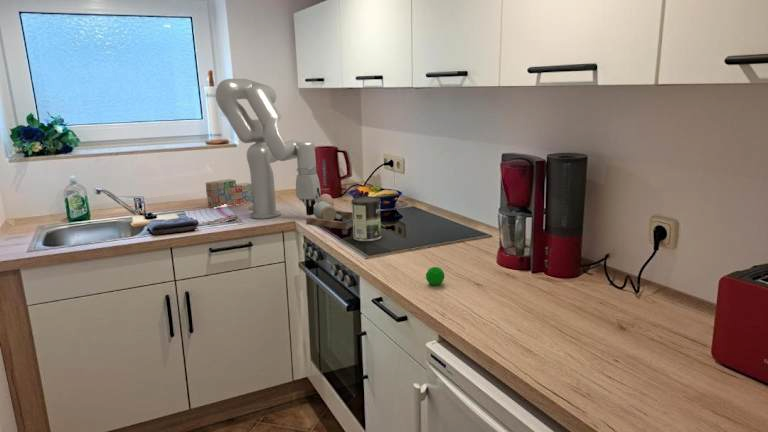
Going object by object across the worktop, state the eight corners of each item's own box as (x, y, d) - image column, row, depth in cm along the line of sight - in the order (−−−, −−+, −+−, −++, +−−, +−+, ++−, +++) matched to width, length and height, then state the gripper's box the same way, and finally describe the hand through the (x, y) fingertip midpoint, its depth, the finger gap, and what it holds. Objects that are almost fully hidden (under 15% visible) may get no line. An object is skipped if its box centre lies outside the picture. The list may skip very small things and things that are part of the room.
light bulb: (321, 224, 220) (320, 205, 218) (313, 220, 226) (312, 202, 225) (345, 220, 225) (344, 202, 223) (336, 217, 232) (336, 199, 230)
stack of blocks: (248, 200, 273) (246, 176, 270) (254, 202, 268) (252, 177, 265) (208, 207, 259) (205, 182, 256) (214, 209, 254) (211, 183, 251)
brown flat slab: (306, 223, 221) (305, 216, 220) (331, 215, 234) (331, 208, 233) (345, 229, 210) (345, 221, 209) (370, 220, 223) (369, 213, 223)
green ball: (434, 289, 146) (434, 272, 145) (422, 284, 150) (422, 267, 149) (448, 284, 149) (448, 268, 148) (436, 280, 152) (436, 263, 151)
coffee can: (382, 233, 203) (381, 196, 199) (380, 241, 193) (379, 202, 189) (354, 234, 203) (353, 196, 200) (351, 241, 193) (349, 202, 190)
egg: (314, 212, 241) (313, 193, 239) (328, 209, 245) (327, 191, 243) (323, 215, 236) (322, 196, 234) (337, 212, 240) (336, 193, 238)
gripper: (287, 172, 227) (291, 215, 231) (315, 173, 218) (318, 218, 223) (299, 169, 233) (302, 211, 237) (327, 171, 225) (330, 214, 229)
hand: (310, 214), depth 230 cm, fingers closed
